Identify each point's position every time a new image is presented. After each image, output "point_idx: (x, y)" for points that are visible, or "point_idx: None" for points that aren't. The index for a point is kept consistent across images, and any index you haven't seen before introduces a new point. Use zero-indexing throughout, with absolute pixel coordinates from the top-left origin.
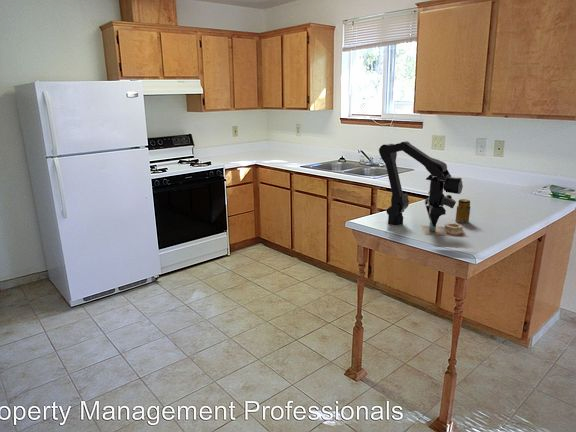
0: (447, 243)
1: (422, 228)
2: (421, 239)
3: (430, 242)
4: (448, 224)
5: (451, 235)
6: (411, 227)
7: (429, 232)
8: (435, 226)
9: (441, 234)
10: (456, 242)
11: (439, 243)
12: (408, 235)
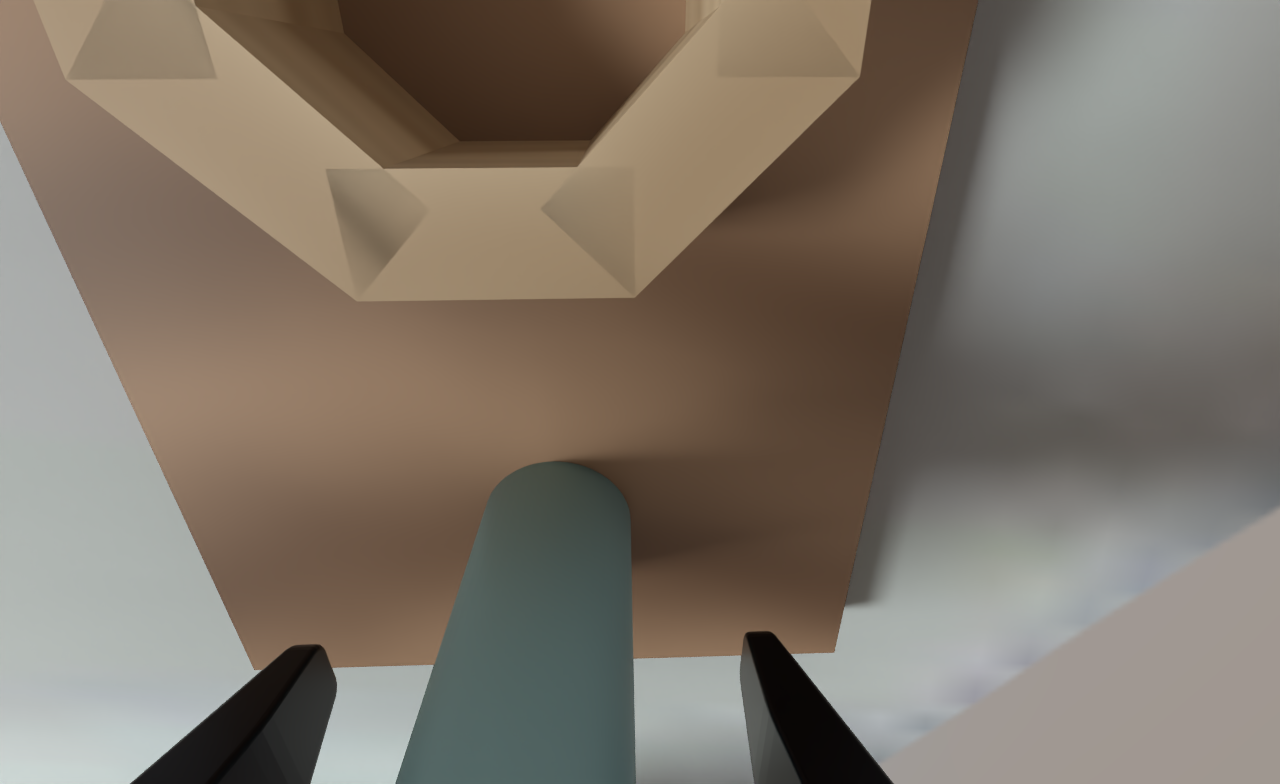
0: (1248, 273)
1: None
2: (935, 655)
3: (1104, 558)
4: (363, 153)
5: (918, 100)
6: None
7: (698, 579)
8: (600, 570)
9: (825, 368)
10: (1253, 13)
11: (1197, 429)
12: (746, 773)
